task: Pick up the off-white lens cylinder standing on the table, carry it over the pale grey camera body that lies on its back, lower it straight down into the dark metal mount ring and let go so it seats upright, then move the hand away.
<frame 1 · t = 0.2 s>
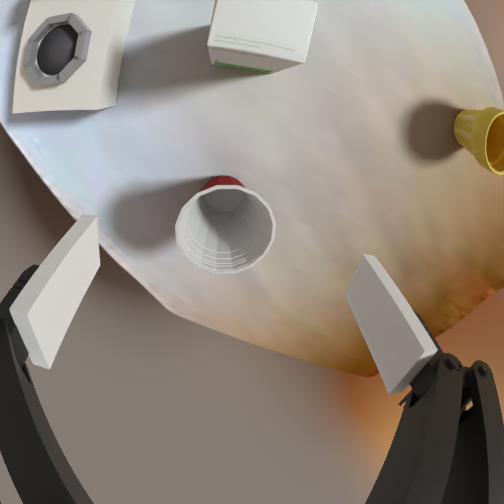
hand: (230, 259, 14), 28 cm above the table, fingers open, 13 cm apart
camera body: (83, 32, 26), on the table
plant pot: (464, 128, 37), on the table
skincare box: (247, 46, 31), on the table
plastic cup: (225, 194, 41), on the table
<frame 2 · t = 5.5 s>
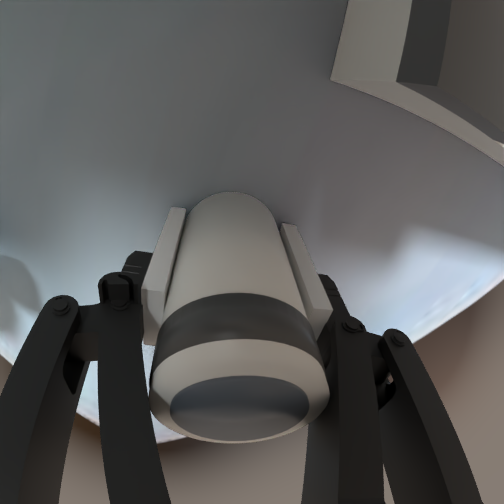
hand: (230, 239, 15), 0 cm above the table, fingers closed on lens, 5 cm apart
camera body: (497, 58, 10), on the table
lens: (230, 236, 16), on the table, touching gripper
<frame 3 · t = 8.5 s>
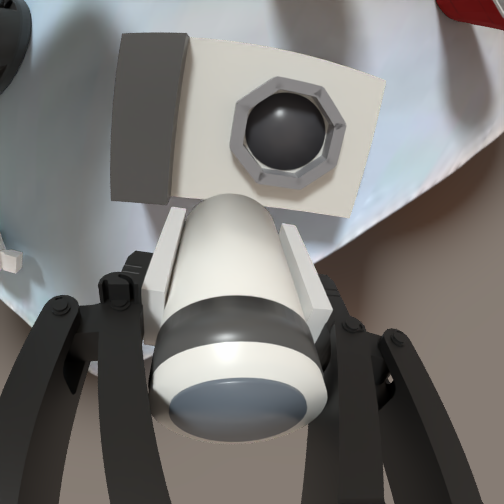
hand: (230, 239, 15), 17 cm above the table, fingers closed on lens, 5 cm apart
camera body: (245, 118, 28), on the table
perfume bottle: (1, 241, 32), on the table
plastic cup: (449, 0, 19), on the table
lens: (229, 237, 16), point 17 cm above the table, touching gripper
when the fingers open (9 cm above the table, at t = 11.4 s): lens drops 2 cm, resting on camera body.
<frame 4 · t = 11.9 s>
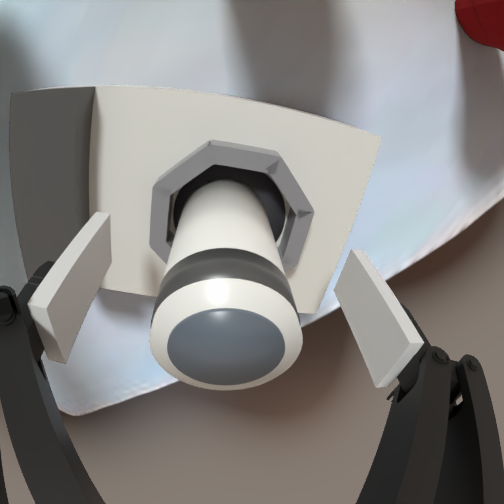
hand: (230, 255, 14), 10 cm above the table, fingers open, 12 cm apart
camera body: (190, 179, 22), on the table
plastic cup: (472, 16, 15), on the table
lens: (223, 217, 18), point 6 cm above the table, touching camera body
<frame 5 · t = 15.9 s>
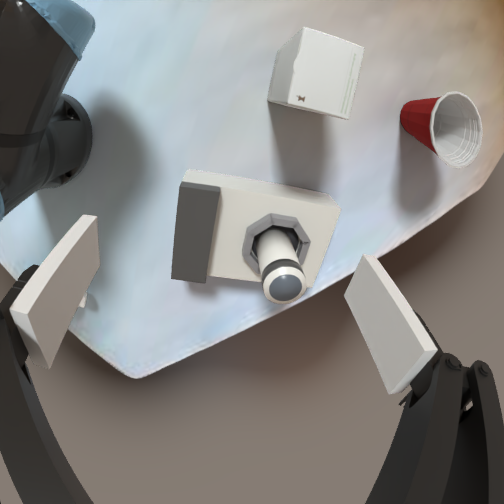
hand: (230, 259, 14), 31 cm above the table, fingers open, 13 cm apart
camera body: (251, 221, 47), on the table
skincare box: (292, 78, 36), on the table
plastic cup: (413, 115, 39), on the table
lens: (273, 243, 42), point 6 cm above the table, touching camera body
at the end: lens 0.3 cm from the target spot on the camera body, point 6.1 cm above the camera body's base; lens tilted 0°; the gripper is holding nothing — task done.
